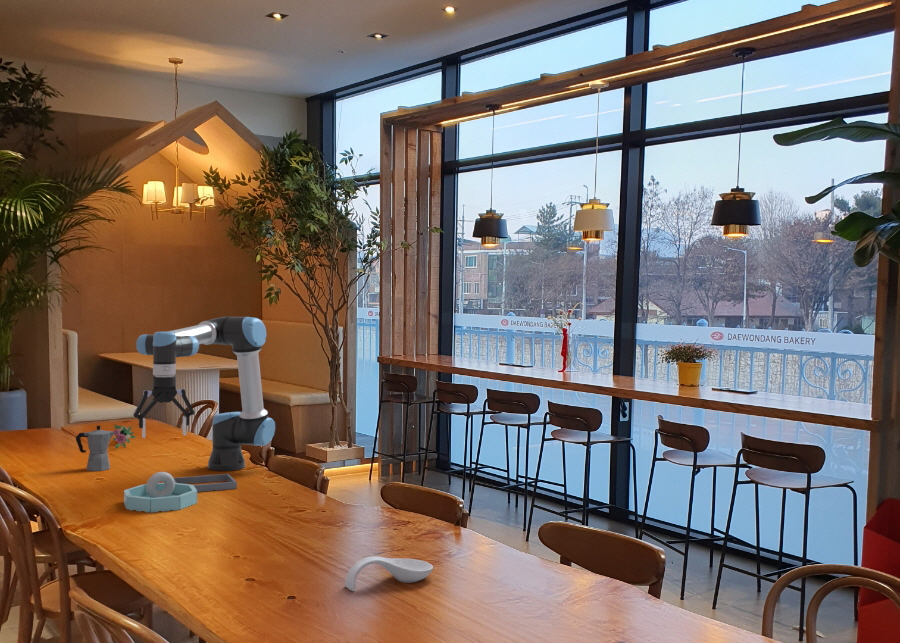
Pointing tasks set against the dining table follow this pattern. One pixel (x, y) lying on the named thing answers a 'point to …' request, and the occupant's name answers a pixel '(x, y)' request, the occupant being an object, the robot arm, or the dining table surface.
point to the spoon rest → (391, 569)
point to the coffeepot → (96, 448)
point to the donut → (156, 479)
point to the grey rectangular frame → (209, 478)
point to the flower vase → (122, 435)
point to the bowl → (160, 498)
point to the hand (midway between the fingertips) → (164, 436)
